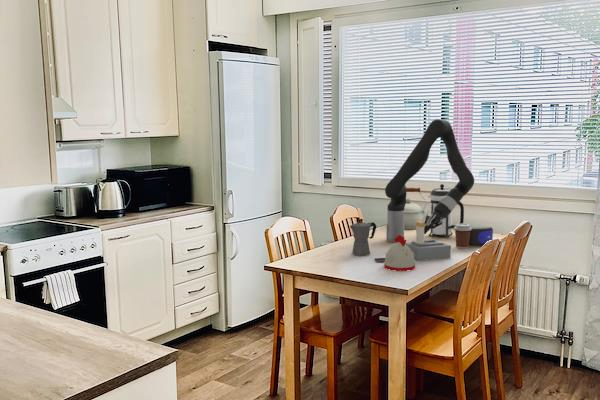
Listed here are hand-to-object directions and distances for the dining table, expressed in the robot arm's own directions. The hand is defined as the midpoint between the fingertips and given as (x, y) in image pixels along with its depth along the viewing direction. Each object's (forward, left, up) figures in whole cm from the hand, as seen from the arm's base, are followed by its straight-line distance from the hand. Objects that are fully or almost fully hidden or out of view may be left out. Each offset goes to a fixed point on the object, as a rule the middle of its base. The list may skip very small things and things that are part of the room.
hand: (423, 232), depth 281 cm
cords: (-13, -13, -12) cm, 22 cm away
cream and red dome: (-8, -24, -12) cm, 28 cm away
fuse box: (+2, +1, -12) cm, 12 cm away
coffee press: (+8, +53, -12) cm, 55 cm away
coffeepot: (-29, -2, -12) cm, 32 cm away
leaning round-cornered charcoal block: (+26, +34, -12) cm, 44 cm away
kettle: (-13, +75, -12) cm, 77 cm away
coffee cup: (+19, +25, -12) cm, 34 cm away
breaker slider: (-1, -1, -6) cm, 6 cm away
